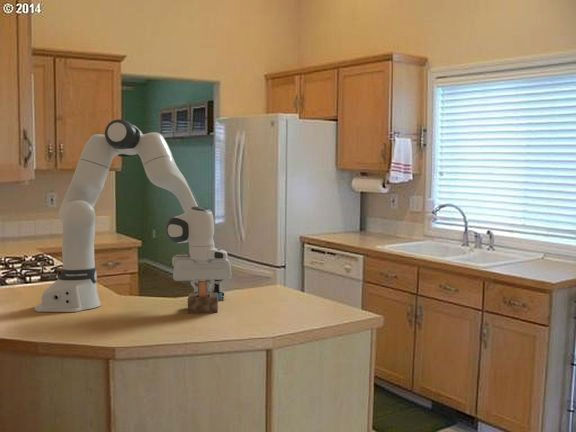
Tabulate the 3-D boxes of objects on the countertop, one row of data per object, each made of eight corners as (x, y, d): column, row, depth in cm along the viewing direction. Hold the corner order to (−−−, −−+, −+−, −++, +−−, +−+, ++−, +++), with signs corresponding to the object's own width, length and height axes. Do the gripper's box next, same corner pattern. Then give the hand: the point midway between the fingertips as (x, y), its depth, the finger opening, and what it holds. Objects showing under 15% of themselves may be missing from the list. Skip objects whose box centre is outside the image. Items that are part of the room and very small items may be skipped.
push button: (230, 299, 237) (229, 273, 237) (221, 301, 233) (220, 275, 232) (216, 297, 241) (216, 271, 240) (207, 300, 236) (206, 273, 236)
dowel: (198, 307, 218) (197, 282, 217) (198, 305, 221) (198, 280, 220) (207, 307, 218) (207, 281, 217) (208, 305, 221) (207, 280, 221)
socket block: (187, 313, 214) (187, 299, 214) (190, 307, 224) (189, 293, 224) (217, 312, 215) (217, 298, 215) (218, 306, 225) (217, 292, 225)
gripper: (170, 255, 214) (172, 295, 215) (230, 253, 216) (231, 293, 217) (172, 252, 220) (173, 291, 221) (231, 251, 222) (231, 290, 223)
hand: (202, 292), depth 219 cm, fingers closed on dowel, 3 cm apart
